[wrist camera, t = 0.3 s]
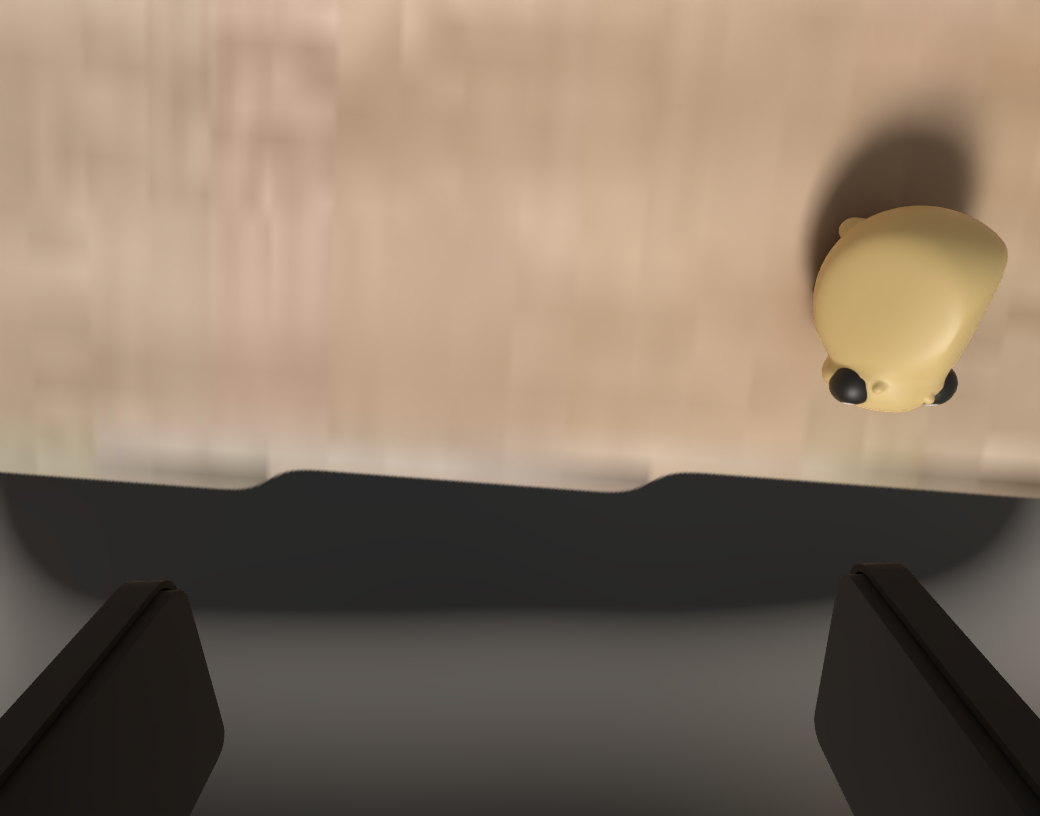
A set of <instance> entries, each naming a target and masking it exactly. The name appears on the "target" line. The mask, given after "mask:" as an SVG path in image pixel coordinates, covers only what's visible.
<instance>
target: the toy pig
mask: <svg viewBox="0 0 1040 816" xmlns="http://www.w3.org/2000/svg"><path fill="white" fill-rule="evenodd" d="M839 235H840V237H841V238H840V239H839V241H838V242H837V243H836V244H835V245H834V246H833V248H832V249H831V250H830V252H829V253H828V255H827V256H826V258H825V260H824V262H823V264H822V266H821V268H820V270H819V273H818V276H817V279H816V283H815V288H814V294H813V317H814V322H815V326H816V329H817V332H818V334H819V336H820V338H821V340H822V343H823V345H824V347H825V349H826V351H827V353H828V358H827V359H826V360H825V362H824V364H823V367H822V375H823V378H824V380H825V382H826V384H827V385H828V386H829V389H830V392H831V394H832V395H833V397H834V398H835V399H837V400H838V401H840V402H842V403H845V404H849V405H856V406H859V407H862V408H866V409H870V410H875V411H883V412H906V411H909V410H912V409H914V408H916V407H918V406H920V405H922V404H923V405H928V406H934V405H940V404H943V403H945V402H946V401H948V400H949V399H950V398H951V397H952V396H953V395H954V393H955V392H956V390H957V385H958V381H957V376H956V374H955V372H954V371H953V370H952V367H953V366H954V365H955V363H956V362H957V360H958V359H959V357H960V356H961V354H962V353H963V351H964V350H965V348H966V346H967V345H968V343H969V341H970V340H971V338H972V336H973V334H974V333H975V331H976V329H977V327H978V325H979V324H980V322H981V320H982V318H983V316H984V314H985V312H986V310H987V308H988V306H989V304H990V302H991V300H992V298H993V296H994V294H995V292H996V289H997V287H998V285H999V283H1000V281H1001V279H1002V276H1003V274H1004V271H1005V268H1006V264H1007V257H1008V254H1007V248H1006V246H1005V244H1004V242H1003V240H1002V239H1001V238H1000V237H999V236H998V235H997V234H996V233H995V232H994V231H993V230H992V229H990V228H989V227H988V226H986V225H985V224H983V223H982V222H980V221H978V220H977V219H975V218H973V217H971V216H969V215H966V214H964V213H961V212H958V211H955V210H951V209H947V208H943V207H937V206H925V205H917V206H905V207H899V208H894V209H890V210H887V211H883V212H881V213H878V214H875V215H873V216H871V217H869V218H867V219H864V218H858V217H853V218H849V219H846V220H845V221H844V222H843V223H842V224H841V225H840V227H839Z"/></svg>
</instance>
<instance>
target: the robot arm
mask: <svg viewBox="0 0 1040 816" xmlns="http://www.w3.org/2000/svg"><path fill="white" fill-rule="evenodd" d="M814 722H815V730H816V735H817V738H818V741H819V744H820V746H821V748H822V750H823V752H824V754H825V756H826V758H827V761H828V763H829V765H830V767H831V769H832V771H833V773H834V775H835V777H836V779H837V781H838V783H839V786H840V788H841V790H842V791H843V794H844V796H845V798H846V800H847V802H848V804H849V806H850V808H851V810H852V812H853V814H854V816H1040V719H1039V718H1038V717H1037V715H1036V714H1035V713H1034V712H1033V711H1032V710H1031V709H1030V708H1029V706H1028V705H1027V704H1026V703H1025V702H1024V701H1023V700H1022V699H1021V697H1020V696H1019V695H1018V694H1017V693H1016V692H1015V690H1014V689H1013V688H1012V687H1011V686H1010V685H1009V684H1008V683H1007V681H1006V680H1005V679H1004V678H1003V677H1002V676H1001V675H1000V674H999V672H998V671H997V670H996V669H995V668H994V667H993V666H992V665H991V663H990V662H989V661H988V660H987V659H986V658H985V656H984V655H983V654H982V653H981V652H980V651H979V650H978V649H977V648H976V646H975V645H974V644H973V643H972V642H971V641H970V639H969V638H968V637H967V636H966V635H965V634H964V633H963V632H962V630H961V629H960V628H959V627H958V626H957V625H956V624H955V622H954V621H953V620H952V619H951V618H950V617H949V616H948V615H947V614H946V612H945V611H944V610H943V609H942V608H941V607H940V605H939V604H938V603H937V602H936V601H935V600H934V599H933V598H932V597H931V595H930V594H929V593H928V592H927V591H926V590H925V588H924V587H923V586H922V585H921V584H920V583H919V582H918V580H917V579H916V578H915V577H914V576H913V575H912V574H911V573H910V571H908V569H907V568H906V567H905V566H903V565H902V564H900V563H858V564H855V565H854V566H853V567H852V569H851V571H850V574H844V575H842V576H841V577H840V578H839V581H838V586H837V591H836V597H835V602H834V608H833V614H832V619H831V625H830V631H829V636H828V642H827V648H826V654H825V659H824V664H823V670H822V676H821V681H820V687H819V693H818V698H817V704H816V710H815V717H814ZM223 742H224V726H223V722H222V718H221V714H220V711H219V707H218V703H217V700H216V696H215V693H214V689H213V685H212V682H211V679H210V675H209V671H208V668H207V664H206V660H205V657H204V653H203V649H202V646H201V642H200V639H199V635H198V631H197V628H196V624H195V621H194V617H193V614H192V610H191V606H190V602H189V599H188V596H187V594H186V593H185V592H184V591H182V590H177V588H176V586H175V585H174V584H173V582H171V581H168V580H158V581H157V580H155V581H154V580H153V581H129V582H125V583H124V584H123V585H121V586H120V587H119V588H118V589H117V590H116V592H114V593H113V595H112V596H111V597H110V598H109V599H108V600H107V601H106V602H105V603H104V605H103V606H102V607H101V608H100V609H99V610H98V611H97V612H96V614H94V616H93V617H92V618H91V619H90V620H89V621H88V622H87V623H86V624H85V625H84V627H83V628H82V629H81V630H80V631H79V632H78V633H77V634H76V635H75V637H74V638H73V639H72V640H71V641H70V642H69V643H68V644H67V645H66V646H65V648H64V649H63V650H62V651H61V652H60V653H59V654H58V656H56V658H55V659H54V660H53V661H52V662H51V663H50V664H49V665H48V666H47V667H46V669H45V670H44V671H43V672H42V673H41V674H40V675H39V676H38V677H37V678H36V680H35V681H34V682H33V683H32V684H31V685H30V686H29V687H28V688H27V689H26V691H25V692H24V693H23V694H22V695H21V696H20V697H19V698H18V699H17V701H16V702H15V703H14V704H13V705H12V706H11V707H10V708H9V709H8V710H7V712H6V713H5V714H4V715H3V716H2V717H1V718H0V816H190V814H191V812H192V810H193V808H194V806H195V804H196V802H197V800H198V798H199V796H200V794H201V792H202V790H203V788H204V785H205V784H206V782H207V780H208V778H209V776H210V774H211V772H212V770H213V768H214V766H215V764H216V762H217V760H218V758H219V755H220V753H221V751H222V747H223Z"/></svg>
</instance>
